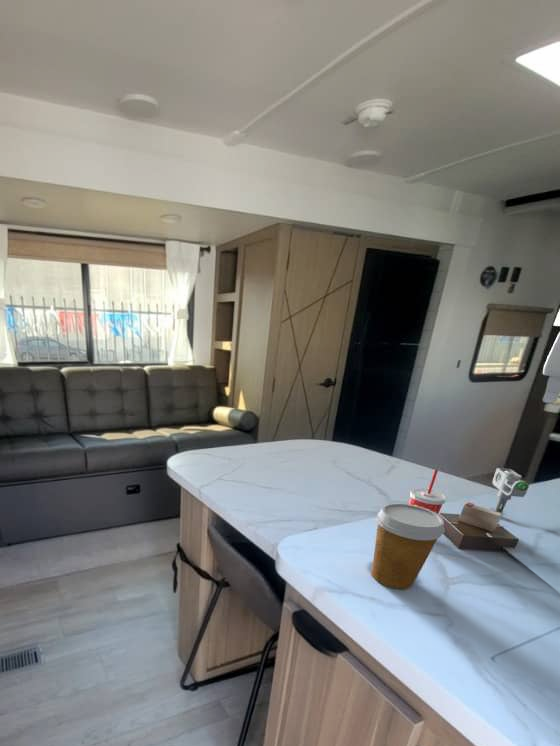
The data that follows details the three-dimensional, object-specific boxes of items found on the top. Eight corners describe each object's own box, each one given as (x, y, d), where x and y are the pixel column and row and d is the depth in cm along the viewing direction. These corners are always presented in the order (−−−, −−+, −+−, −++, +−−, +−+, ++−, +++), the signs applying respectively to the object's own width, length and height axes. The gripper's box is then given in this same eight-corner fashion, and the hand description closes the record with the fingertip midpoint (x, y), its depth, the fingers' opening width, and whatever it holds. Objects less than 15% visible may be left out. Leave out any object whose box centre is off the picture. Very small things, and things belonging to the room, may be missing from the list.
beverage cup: (431, 545, 79) (455, 478, 73) (397, 536, 82) (417, 471, 76) (432, 533, 84) (455, 468, 78) (400, 525, 86) (419, 462, 80)
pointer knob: (495, 529, 79) (502, 512, 78) (492, 532, 78) (500, 514, 77) (461, 518, 83) (467, 501, 82) (458, 520, 82) (464, 503, 81)
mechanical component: (499, 524, 88) (517, 481, 84) (479, 506, 97) (494, 466, 93) (514, 526, 88) (533, 483, 83) (493, 507, 97) (509, 467, 92)
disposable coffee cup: (436, 586, 66) (460, 520, 61) (400, 602, 62) (423, 534, 57) (384, 558, 74) (402, 498, 69) (349, 571, 70) (365, 508, 64)
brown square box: (483, 528, 86) (488, 515, 85) (514, 553, 77) (520, 538, 76) (433, 524, 87) (437, 511, 86) (458, 549, 78) (463, 534, 76)
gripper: (607, 313, 60) (565, 408, 66) (625, 318, 71) (588, 398, 77) (552, 313, 64) (518, 402, 70) (578, 317, 76) (546, 393, 82)
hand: (555, 400), depth 74 cm, fingers open, 8 cm apart
